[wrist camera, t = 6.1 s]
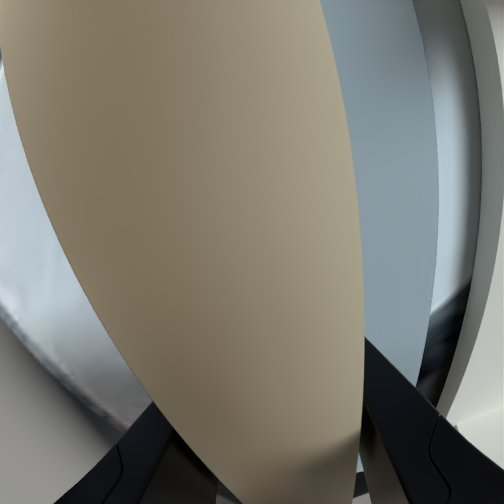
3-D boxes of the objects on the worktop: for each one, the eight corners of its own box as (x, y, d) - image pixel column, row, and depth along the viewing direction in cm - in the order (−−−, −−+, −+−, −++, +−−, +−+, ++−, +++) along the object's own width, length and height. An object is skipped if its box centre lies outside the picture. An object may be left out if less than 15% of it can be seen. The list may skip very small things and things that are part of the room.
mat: (325, -160, 2) (328, -169, 2) (390, 457, 16) (391, 464, 16) (28, -71, 4) (18, -75, 3) (239, 476, 18) (238, 483, 17)
